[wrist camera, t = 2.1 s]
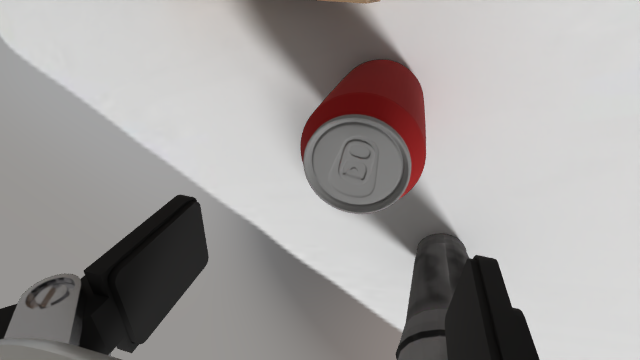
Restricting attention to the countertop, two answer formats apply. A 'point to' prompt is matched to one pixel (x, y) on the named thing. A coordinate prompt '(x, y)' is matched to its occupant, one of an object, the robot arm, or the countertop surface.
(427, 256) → the beverage cup
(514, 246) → the countertop surface
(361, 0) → the walnut block
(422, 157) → the beverage can
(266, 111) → the countertop surface
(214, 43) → the countertop surface
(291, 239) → the countertop surface
